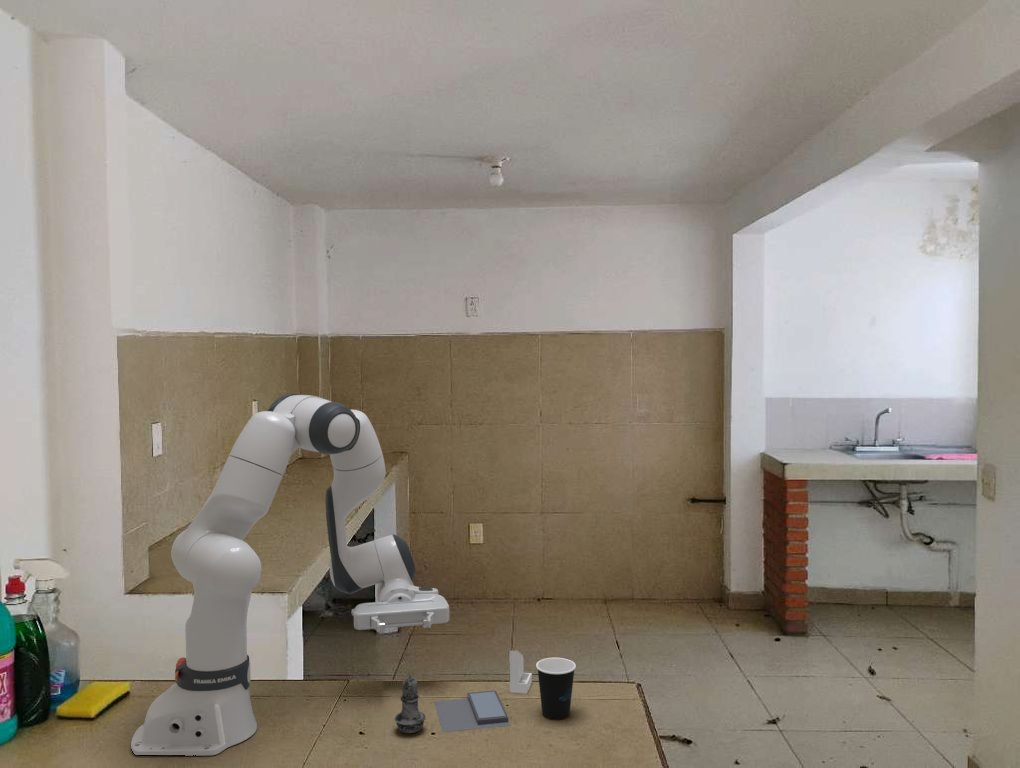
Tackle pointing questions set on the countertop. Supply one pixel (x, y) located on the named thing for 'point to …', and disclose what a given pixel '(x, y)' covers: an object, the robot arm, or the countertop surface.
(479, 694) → the phone
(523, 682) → the white angled block
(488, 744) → the countertop surface
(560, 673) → the dixie cup
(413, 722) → the stone finial ornament
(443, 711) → the mat
